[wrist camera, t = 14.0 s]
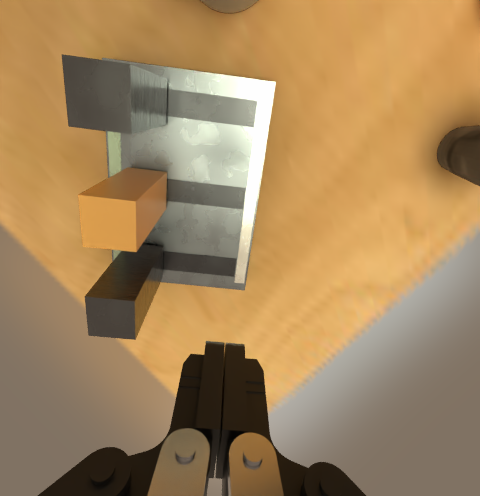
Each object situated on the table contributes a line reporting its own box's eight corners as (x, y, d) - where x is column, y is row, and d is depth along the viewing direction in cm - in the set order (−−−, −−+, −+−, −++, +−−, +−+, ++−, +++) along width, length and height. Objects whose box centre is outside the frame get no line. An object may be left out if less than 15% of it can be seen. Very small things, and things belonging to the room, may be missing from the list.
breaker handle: (127, 167, 32) (77, 194, 22) (167, 171, 32) (135, 201, 22) (128, 204, 34) (82, 246, 24) (166, 209, 34) (136, 252, 24)
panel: (108, 59, 30) (24, 29, 18) (274, 83, 31) (297, 68, 19) (117, 271, 39) (65, 342, 27) (244, 284, 40) (247, 358, 28)
